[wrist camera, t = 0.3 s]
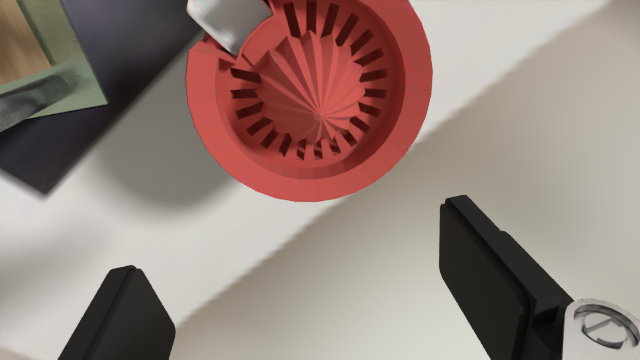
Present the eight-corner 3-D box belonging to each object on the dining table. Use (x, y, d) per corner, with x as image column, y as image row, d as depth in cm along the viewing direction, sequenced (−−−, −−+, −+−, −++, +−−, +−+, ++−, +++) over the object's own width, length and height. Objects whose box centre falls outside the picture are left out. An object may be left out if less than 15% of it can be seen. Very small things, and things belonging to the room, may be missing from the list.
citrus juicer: (277, -91, 30) (285, -202, 13) (397, 52, 37) (506, 106, 20) (175, 45, 34) (75, 102, 17) (300, 150, 42) (321, 264, 24)
